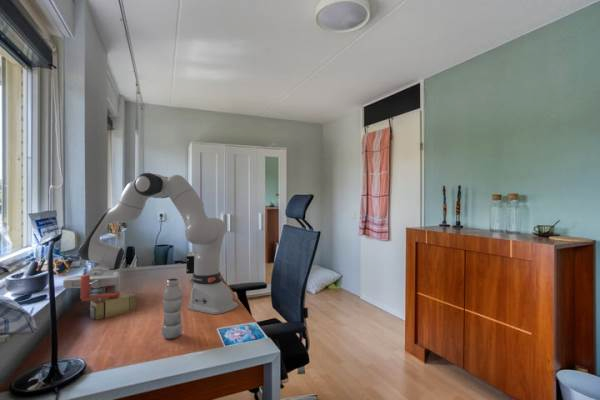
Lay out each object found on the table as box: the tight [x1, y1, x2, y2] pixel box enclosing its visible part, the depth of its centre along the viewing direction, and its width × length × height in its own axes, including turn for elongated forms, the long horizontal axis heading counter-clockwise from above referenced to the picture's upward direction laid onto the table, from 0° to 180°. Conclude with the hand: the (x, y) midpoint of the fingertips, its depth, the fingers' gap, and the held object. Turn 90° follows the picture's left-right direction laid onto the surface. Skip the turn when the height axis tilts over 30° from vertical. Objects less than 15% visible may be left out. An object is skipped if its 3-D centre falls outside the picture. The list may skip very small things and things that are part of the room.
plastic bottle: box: [161, 277, 183, 340], centre depth 108 cm, size 6×7×20 cm
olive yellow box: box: [89, 291, 137, 320], centre depth 130 cm, size 16×8×7 cm, turn 141°
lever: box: [79, 274, 121, 302], centre depth 127 cm, size 14×4×10 cm, turn 129°
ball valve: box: [185, 250, 197, 284], centre depth 178 cm, size 18×8×18 cm, turn 15°
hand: (86, 285), depth 125 cm, fingers closed
